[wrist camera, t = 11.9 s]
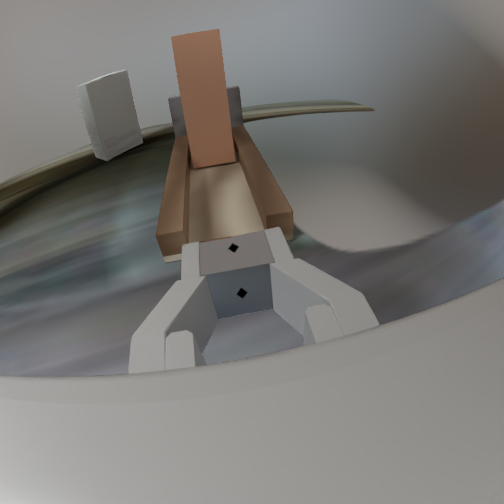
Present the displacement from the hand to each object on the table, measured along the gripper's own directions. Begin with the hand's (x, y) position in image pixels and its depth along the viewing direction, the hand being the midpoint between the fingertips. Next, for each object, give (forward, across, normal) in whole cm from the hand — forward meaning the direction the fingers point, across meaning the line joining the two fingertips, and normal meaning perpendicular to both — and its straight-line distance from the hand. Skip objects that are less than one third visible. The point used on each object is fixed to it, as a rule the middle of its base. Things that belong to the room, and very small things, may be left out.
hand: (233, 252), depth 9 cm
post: (+29, 0, +8) cm, 30 cm away
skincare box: (+45, +17, +8) cm, 49 cm away
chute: (+23, 0, +8) cm, 24 cm away
